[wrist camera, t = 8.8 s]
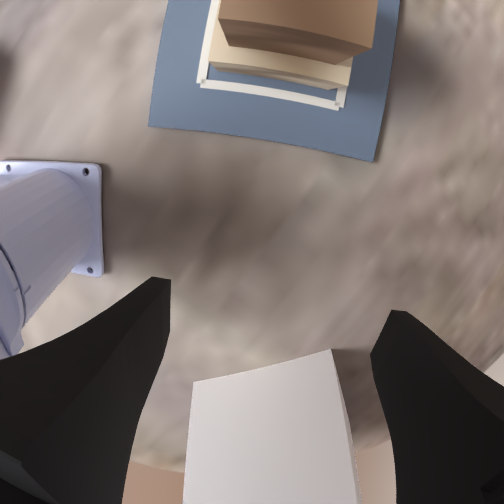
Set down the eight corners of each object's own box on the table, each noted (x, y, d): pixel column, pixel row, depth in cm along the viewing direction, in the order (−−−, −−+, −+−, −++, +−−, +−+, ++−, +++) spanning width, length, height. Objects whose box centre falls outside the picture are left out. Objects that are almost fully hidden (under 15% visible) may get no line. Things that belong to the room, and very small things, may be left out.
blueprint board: (151, 125, 17) (147, 126, 16) (188, -63, 11) (186, -68, 11) (369, 160, 18) (373, 162, 17) (398, -24, 12) (402, -27, 11)
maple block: (217, 71, 15) (207, 61, 11) (235, -22, 12) (231, -52, 9) (327, 90, 15) (348, 85, 12) (342, -2, 13) (364, -26, 9)
